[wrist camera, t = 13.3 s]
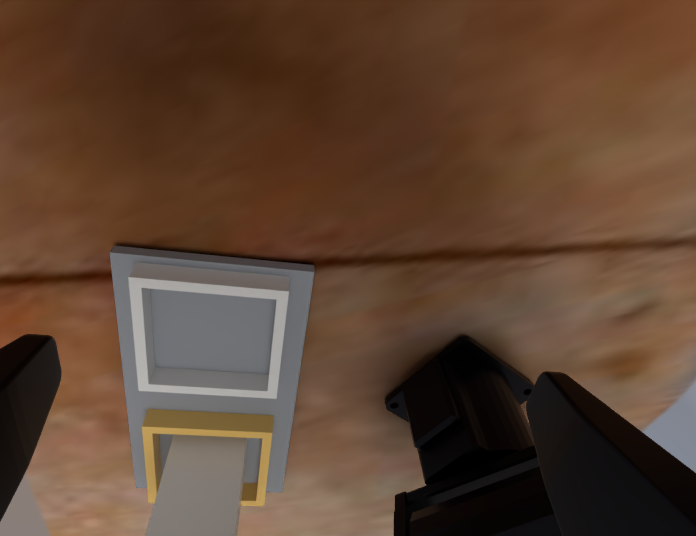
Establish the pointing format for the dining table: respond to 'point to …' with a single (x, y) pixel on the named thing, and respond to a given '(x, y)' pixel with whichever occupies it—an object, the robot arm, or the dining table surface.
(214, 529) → the plug
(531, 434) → the robot arm
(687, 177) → the dining table surface
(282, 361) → the socket panel
